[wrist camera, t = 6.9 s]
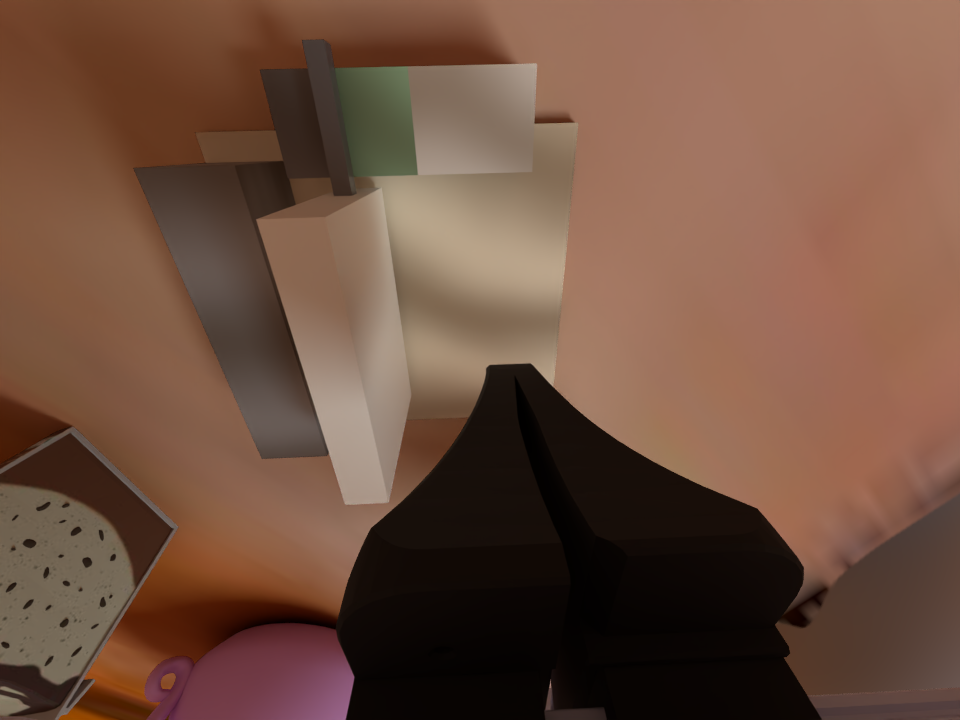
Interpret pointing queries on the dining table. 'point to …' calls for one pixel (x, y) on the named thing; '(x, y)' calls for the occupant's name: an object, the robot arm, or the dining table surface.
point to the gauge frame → (411, 229)
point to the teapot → (259, 678)
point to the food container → (66, 568)
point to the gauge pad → (344, 306)
